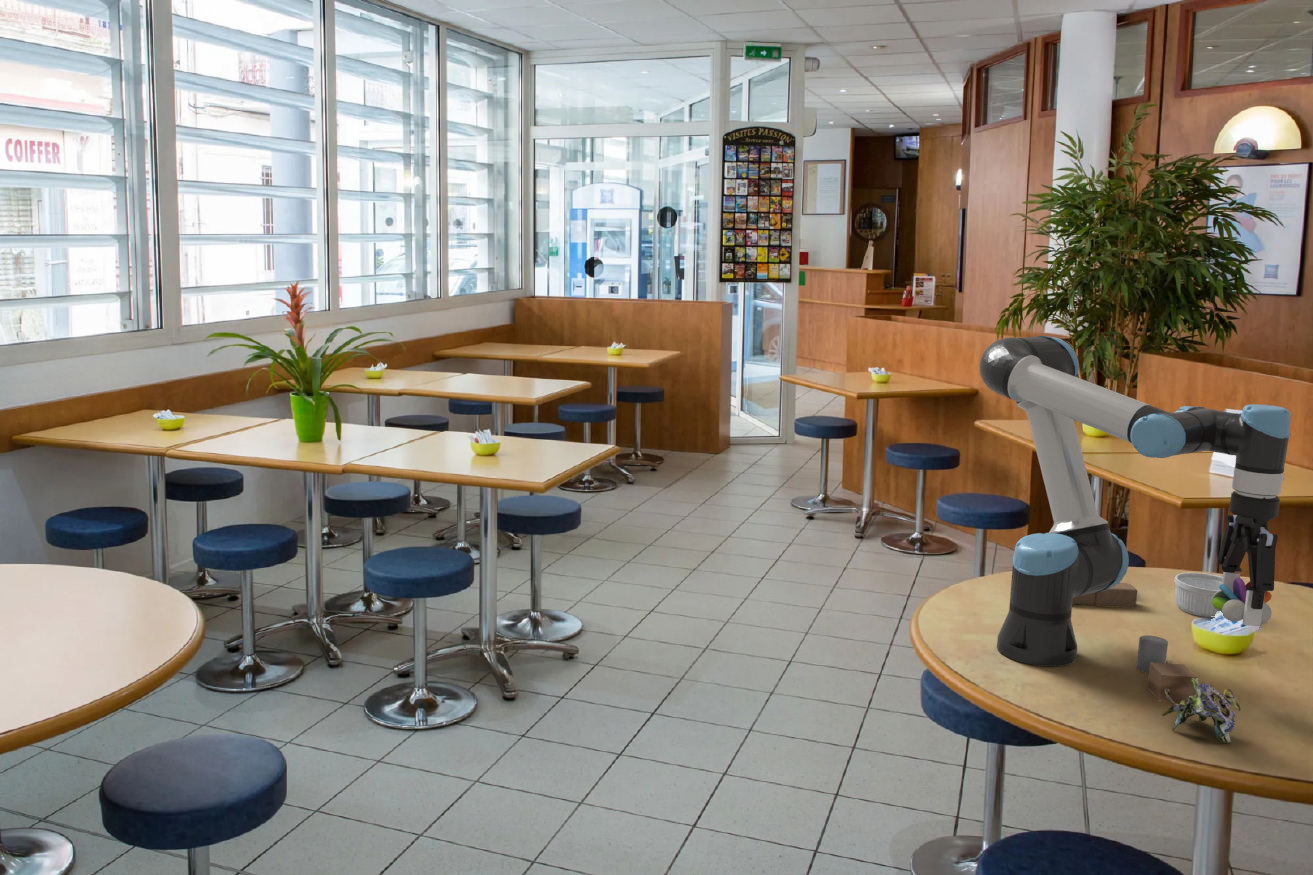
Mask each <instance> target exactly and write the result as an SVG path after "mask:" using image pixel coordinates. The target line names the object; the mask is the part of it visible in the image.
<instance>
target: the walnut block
mask: <svg viewBox="0 0 1313 875" xmlns="http://www.w3.org/2000/svg"><path fill="white" fill-rule="evenodd" d="M1192 678H1194V679H1196V678H1197V676H1196V675H1195V673H1193V672H1192V671H1191V670H1190V669H1189V668H1188V667H1187V666H1186V665H1185V664H1184V663H1168V662H1166V663H1154V662H1150V667H1149V674H1148V678H1147V687H1146V688H1148V690H1149V691H1150V693H1151V694H1152V695H1153V696H1154V698H1156V699H1157V700H1158V701H1159V702H1171V700H1170V699H1167V698H1166V694H1165V689H1169V690H1170V693H1169V697H1170V698H1171V699H1172V700H1173V702H1174V703H1177V702H1178V703H1181V701H1182V700H1185V701H1186V703H1188V696H1189V697H1190V696H1193V698H1194V697H1195V695H1196V691H1195V689H1194V687H1193V684H1192V681H1191V679H1192Z"/></svg>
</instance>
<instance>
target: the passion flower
mask: <svg viewBox="0 0 1313 875" xmlns="http://www.w3.org/2000/svg"><path fill="white" fill-rule="evenodd" d="M1191 681H1192V684H1193V687H1194V689H1195V696H1194V698H1193V696H1190V697H1189V696H1188V702H1186V701H1185V700H1182V701H1181V702H1179V703H1176V702H1173V700H1172V699H1171V698H1170V697H1169V693H1170V690H1169V689H1165V694H1166V698H1167V699H1170V700H1171V701H1170V702H1171V703H1172V704H1171V706H1170V707H1169V708H1167V709H1166V710H1164V712H1163V713H1162V714H1161V717H1165V716H1167V715H1169V714H1171V713H1174V712H1176V711H1177V717H1176V720H1175V723H1174V726H1173V728H1172V729H1171V730H1172V731H1174V730H1175V729H1176V728H1177V726H1179V725H1182V724H1184V723H1186V721H1187V720H1188V719H1189V718H1190V717H1193V716H1195V715H1198V722H1205V721H1206V720H1207V718H1209V717H1210V718H1211V720H1212V721H1213V727H1214V730H1213V732H1214V733H1215V736H1216V738H1217V740H1218V741H1219V742H1221V743H1222V744H1230V743H1231V738H1230V737H1231V736H1230V733H1231V732H1233V730H1235V725H1236V723H1235V722H1236V721H1235V718H1236V714H1235V712H1234V711H1233V710H1231V707H1233V708H1234V709H1236V710H1237V711H1239V712H1240V711H1241V706H1240V703H1239V702H1238V701H1237V700H1236V698H1235V695H1234V694H1233V691H1232V689H1230V688H1227V689H1224V691H1223V694H1222V692H1221V691H1220V692H1218V690H1217V689H1216V688H1214V687H1213V685H1212V684H1210V685H1208V684H1206V682H1202V683H1201V684H1200V683H1199V678H1196V679H1194V678H1192V679H1191ZM1230 706H1231V707H1230ZM1225 742H1226V743H1225Z"/></svg>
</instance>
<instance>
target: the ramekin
mask: <svg viewBox="0 0 1313 875" xmlns="http://www.w3.org/2000/svg"><path fill="white" fill-rule="evenodd" d="M1174 576H1175V577H1174V584H1175V588H1174V589H1175V595H1174V596H1175V603H1176V606H1178V608H1179V610H1181V611H1182V612H1185V613H1187V614H1189V615H1193V616H1198V617H1201V618H1202V617H1203V618H1208V617H1211V616H1215V614H1216V612H1217V611H1218V610H1216V609H1215V608H1214V607H1213V605H1212V596H1213V595H1214V594H1215V593H1216V592H1217V591H1220V590H1221V589H1220V588H1219V586H1220V585H1221V584H1222V578H1223V576H1220V575H1216V574H1210V573H1203V572H1182V573H1178V574H1176V575H1174Z"/></svg>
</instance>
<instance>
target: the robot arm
mask: <svg viewBox="0 0 1313 875" xmlns="http://www.w3.org/2000/svg"><path fill="white" fill-rule="evenodd" d="M1079 370H1080V365H1079V359H1078V355H1077V353H1076V352H1075V350H1074V348H1073V347H1072V346H1071V344H1069V343H1068V342H1066V341H1065V340H1063V339H1061V338H1059V337H1054V336H1047V335H1038V336H1037V335H1036V336H1021V337H1012V336H1011V337H1004V338H1001V339H998V340H995V341H994V342H992V343H991V344H989V346H987V347H986V348H985V350H984V351H983V352H982V354H981V357H980V360H979V374H980V377H981V380H982V382H983V384H985V386H986V387H987V388H989V390H990V391H992V392H994V393H996V394H997V395H1000V396H1002V397H1005V398H1007V399H1009V400H1013V401H1014V402H1016V406H1017V407H1018V408H1020V409H1021V410H1023V411H1024V412H1026V415H1027V418H1028V422H1029V427H1030V430H1031V435H1032V440H1033V443H1034V448H1035V451H1036V455H1037V459H1038V463H1039V466H1040V470H1041V471H1040V472H1041V475H1042V479H1043V483H1044V486H1045V487H1044V488H1045V491H1046V496H1047V499H1048V502H1049V503H1048V504H1049V507H1050V512H1051V516H1052V520H1053V524H1052V527H1051V528H1050V530H1049V532H1045V533H1041V532H1038V533H1032V534H1029V535H1025V536H1023V537H1021V538H1020V539H1018V541H1017V542H1016V544H1015V546H1014V554H1013V556H1012V569H1011V570H1012V572H1011V584H1010V585H1011V586H1010V598H1009V607H1008V608H1009V610H1008V612H1007V614H1006V616H1005V619H1004V622H1003V623H1002V626H1001V627H1000V630H999V632H998V634H997V638H996V639H997V640H996V649H997V651H998V652H999V653H1001V654H1002V655H1003V656H1005V657H1007V658H1008V659H1009V658H1010V659H1011V660H1013V661H1016V662H1020V663H1024V664H1028V665H1035V666H1040V667H1042V666H1043V667H1062V666H1067V665H1071V664H1073V663H1075V662H1076V661H1077V659H1078V658H1077V657H1078V644H1077V640H1076V635H1075V632H1074V626H1073V623H1072V613H1073V604H1072V603H1073V597H1077V596H1081V595H1085V594H1090V593H1094V592H1102V591H1105V590H1107V589H1108V588H1111V587H1113V586H1115V585H1117V584H1118V583H1121V581H1123V578H1124V577H1125V575H1127V571H1128V568H1129V562H1130V558H1129V553H1128V549H1127V547H1126V545H1125V543H1124V542H1123V540H1122V539H1121V538H1118V535H1116V534H1114V533H1112V532H1111V528H1110V525H1109V521H1108V520H1106V519H1105V518H1103V517H1101V516H1100V515H1099V514H1098V511H1097V506H1096V503H1095V499H1094V495H1093V492H1092V487H1091V482H1090V479H1089V476H1088V475H1089V474H1088V472H1087V467H1086V464H1085V459H1084V456H1083V451H1082V447H1081V444H1080V440H1079V436H1078V432H1077V427H1076V425H1075V421H1077V422H1079V423H1082V424H1083V425H1087V426H1089V427H1091V428H1093V429H1096V430H1097V431H1098V430H1099V431H1101V432H1103V433H1106V434H1108V435H1111V436H1113V437H1115V438H1118V439H1120V440H1122V441H1125V442H1128V443H1129V444H1130V443H1131V444H1132V446H1133V448H1135V450H1136V451H1137V452H1138V453H1139V454H1140V455H1142V456H1143V457H1146V458H1153V459H1154V458H1156V459H1165V458H1169V457H1173V456H1179V455H1185V454H1187V455H1188V454H1194V453H1202V452H1213V453H1218V454H1219V453H1220V454H1225V455H1229V456H1235V464H1234V469H1233V477H1232V483H1231V484H1232V485H1231V488H1232V490H1234V491H1232V492H1231V493H1230V494H1231V495H1230V501H1229V502H1230V503H1229V507H1228V508H1229V511H1230V513H1231V514H1227V515H1226V524H1225V529H1224V534H1223V538H1222V541H1221V547H1220V550H1219V554H1218V558H1217V564H1218V565H1221V571H1223V572H1222V577H1223V578H1222V584H1224V585H1226V586H1227V587H1228V588H1229V589H1230V590H1231V591H1232V592H1233V582H1234V580H1235V579H1236V578H1241V572H1242V571H1243V570H1242V568H1241V565H1242V562H1243V560H1244V558H1245V555H1246V553H1247V559H1248V560H1247V561H1248V573H1249V574H1248V575H1249V582H1250V587H1246V589H1247V594H1246V601H1245V608H1244V615H1243V619H1242V625H1243V626H1250V627H1251V626H1252V627H1261V618H1262V611H1263V604H1264V597H1265V592H1266V591H1268V592H1274V591H1275V576H1276V575H1275V573H1276V572H1275V569H1276V567H1275V566H1276V546H1277V542H1278V534H1276V533H1271V532H1269V521H1270V520H1273V519H1276V518H1277V517H1278V516H1279V511H1280V510H1279V509H1280V504H1281V503H1280V502H1281V499H1280V497H1279V495H1280V494H1281V492H1282V485H1283V481H1285V476H1284V472H1285V465H1286V458H1287V457H1286V456H1287V450H1288V446H1289V440H1290V437H1291V432H1290V431H1291V419H1292V417H1291V416H1292V415H1291V412H1290V410H1289V409H1287V408H1285V407H1282V406H1277V405H1271V404H1270V405H1269V404H1258V403H1257V404H1256V403H1255V404H1253V403H1252V404H1251V403H1250V404H1247V405H1245V406H1244V407H1243V408H1242V412H1241V413H1234V412H1228V411H1225V410H1224V411H1223V410H1217V409H1212V408H1205V407H1204V406H1190V405H1189V406H1187V405H1184V406H1180V407H1179V408H1178V409H1177V410H1176V411H1174V412H1171V411H1167V410H1164V409H1163V408H1162V409H1161V408H1158V407H1155V406H1153V405H1151V404H1149V403H1146V402H1143V401H1141V400H1138V399H1135V398H1133V397H1130V396H1127V395H1125V394H1122V393H1119V392H1116V391H1114V390H1112V389H1109V388H1105V387H1103V386H1102V385H1101V386H1100V385H1098V384H1095V383H1093V382H1090V381H1088V380H1085V379H1082V378H1079V377H1078V376H1077V375H1078V374H1079Z"/></svg>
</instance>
